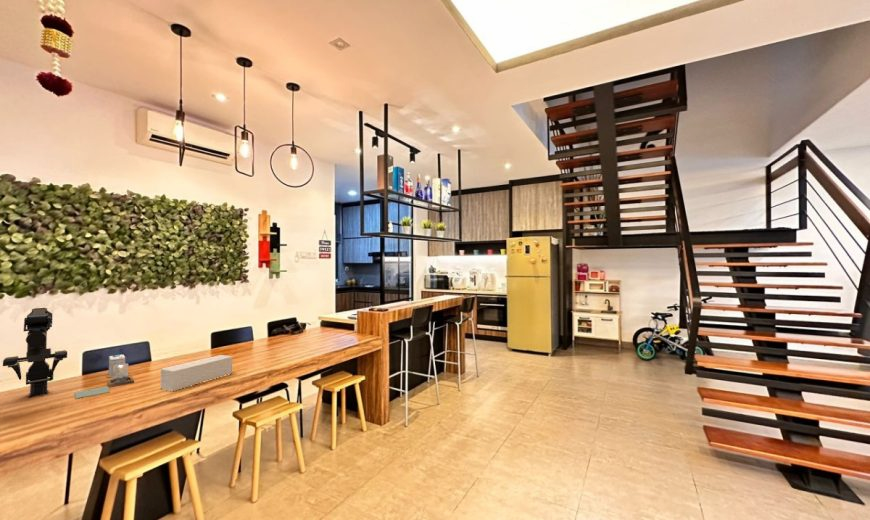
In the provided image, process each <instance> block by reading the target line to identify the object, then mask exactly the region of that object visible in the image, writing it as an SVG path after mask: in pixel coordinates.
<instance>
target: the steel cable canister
mask: <svg viewBox="0 0 870 520" xmlns="http://www.w3.org/2000/svg"><path fill="white" fill-rule="evenodd" d="M128 377H129V363H126V362H125V364H118V365H114V376H113V377H112V378H113V379H112V380H113V383H112V384H114V383H119V382H125V381H129V380H128Z"/></svg>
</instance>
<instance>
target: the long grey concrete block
mask: <svg viewBox="0 0 870 520" xmlns="http://www.w3.org/2000/svg"><path fill="white" fill-rule="evenodd" d="M231 373H232V374H233V356H230V355H224V354H219V355H215V356H211V357H205V358H202V359H198V360H197V359H196V360H194V361H188V362H184V363H180V364H176V365H171V366H167V367H163V368H160V389H161V388H162V389H161V390H163V389H166V390H170V391H174V392H176V391H175V390H177V391H179V390H178V389H181V390H183V389H182V388H184V389H186V388H185V387H188V386H191V385H194V384H197V383H200V382H203V381H206V380H210V379H214V378H217V377H220V376H224V375H228V374H231ZM191 387H192V386H191ZM188 388H189V387H188ZM166 390H165V391H166ZM170 391H169V392H170Z"/></svg>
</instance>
